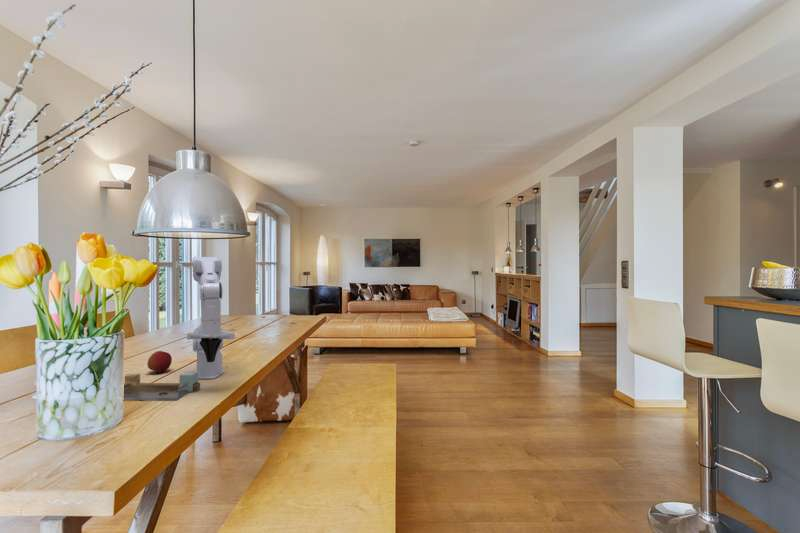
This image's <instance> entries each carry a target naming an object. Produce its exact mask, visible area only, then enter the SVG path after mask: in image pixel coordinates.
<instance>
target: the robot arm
mask: <svg viewBox="0 0 800 533" xmlns="http://www.w3.org/2000/svg"><path fill="white" fill-rule="evenodd" d="M222 270H223V259H222V257H220V256H197V255H196V256H194V255H193V257H192V278H193V280H194V281H195V282H197V283H198V284H199V300H200V313H201V314H200V320H201V321H200V322H201V323H200V325H199V326H197V327H196V328H195V329H194V330H193V332H188V333H186V340H192V351H193V352H194V353H196V372H198V380H204V379H205V380H210V379H211V380H214V379H216V378H217V377H219V376H221V375H222V374H224V373H225V370H224V369H223V354H222V352H221V350H222V349H223V348H224V340H229V341H231V340H235V337H236V336H235V334H236V333H235V332H226V331H225V332H224V331H223V329H222V328H221V326H222V324H221V323H222V320H221V317H222V315H221V314H222V313H221V311H222V310H221V309H222V306H221V304H222V303H221V300H222V299H223V292H224V291H223V284H222V282H221V281H220V279H221V276H222V272H223V271H222Z"/></svg>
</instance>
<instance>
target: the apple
mask: <svg viewBox="0 0 800 533" xmlns="http://www.w3.org/2000/svg"><path fill="white" fill-rule="evenodd" d="M172 362H173V361H172V355H171V354H170V353H169V352H166V351H162V350H158V351H154V352H153V353H152V354H151V355H150V356H149V357H148V358H147V368H148V369H149V370H151V371H154V372H157V373H159V374H161V373H165V372H166V371H168V370H169V368H170V367H171V364H172Z"/></svg>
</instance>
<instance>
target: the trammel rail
mask: <svg viewBox="0 0 800 533" xmlns="http://www.w3.org/2000/svg"><path fill="white" fill-rule="evenodd" d="M123 384H124V390H178V387H179V385H180V382H141V373H129V374H127V375H125V376H124V383H123ZM200 390H201V382H199V383H195V384H193V391H192V393H193V392H198V391H200Z"/></svg>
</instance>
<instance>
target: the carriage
mask: <svg viewBox="0 0 800 533" xmlns="http://www.w3.org/2000/svg"><path fill="white" fill-rule="evenodd" d="M179 383H180V385H179V387H178V393H181V390H188V393H191V392H192V391H193V384H195V383H200V382H199V379H198V372H197V371H185V372H182V373H181V374H179ZM192 393H193V392H192Z"/></svg>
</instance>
